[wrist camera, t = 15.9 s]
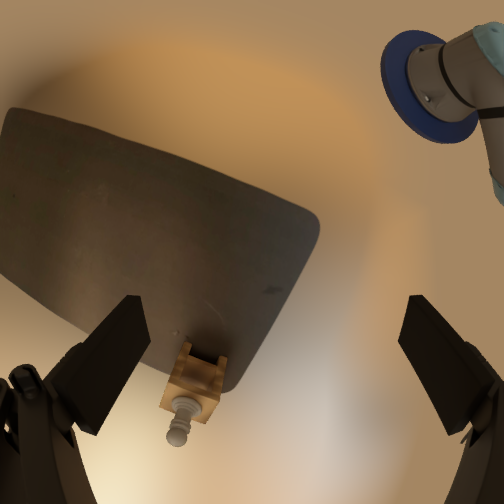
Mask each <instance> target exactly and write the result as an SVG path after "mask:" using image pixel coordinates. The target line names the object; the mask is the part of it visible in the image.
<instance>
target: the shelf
mask: <svg viewBox="0 0 504 504" xmlns="http://www.w3.org/2000/svg"><path fill="white" fill-rule="evenodd" d="M191 347H192V344H191V343H188V342H186V341H185V342H184V344H183V346H182V349H181V351H180V354H179V356H178V358H177V361H176V363H175V366H174V368H173V371H172V373H171V375H170V378H169V380H168V383H167V386H166V389H165V391H164V394H163V397H162V400H161V402H160V405H159V407H160V408H163V409H165V410H167V411H170V412H173V413H175V414H176V412H175V411H174V410H173V408H172V401H173V399H175V398H176V397H189V398H192V399H194V400H195V401H197V402H198V403H199V404H200V405H201V408H202V412H201V414H200V415H199V416H197V417H192V418H191V420H194V421H197V422H200V423H203V424H206V422H207V421H208V419H209V417H210V416H211V414H212V413H213V411H214V409H215V408H216V406H217V405H218V403H219V401H220V395H221V390H222V384H223V379H224V374H225V368H226V363H227V358H226V357H224V356H221V355H220V356H219V358H218V360H217V362H216V364H215V365H213V364H211V363H208V362H205V361H203V360H200V359H198V358H195V357H193V356H190V355H188V354H189V352H190V349H191Z"/></svg>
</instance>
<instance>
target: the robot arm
mask: <svg viewBox="0 0 504 504" xmlns="http://www.w3.org/2000/svg"><path fill="white" fill-rule="evenodd" d="M405 76H406V80H407V84H408V86H409V89H410V91H411V93H412V95H413V97H414V98H415V100H416V101H417V103H418V104H419V105H420V107H421V108H422V109H423V110H424V111H425V112H426V113H427V114H429V115H430V116H431V117H433V118H435V119H436V120H438V121H441V122H445V123H453V122H459V121H462V120H463V119H465V118H466V117H467V116H468V115H470V114H471V113H472V112H473V111H475V110H477V113H478V116H479V120H480V124H481V128H482V132H483V136H484V140H485V145H486V149H487V154H488V160H489V165H490V169H489V172H490V175H491V177H492V182H493V187H494V193H495V196H496V197H497V199H498V200H499V202H500V203H501V204H502V205H503V206H504V24H502V23H499V22H489V23H487V24H484V25H478V26H475V27H474V28H473V29H471V30H470V31H468V32H466V33H464V34H462V35H460V36H458V37H457V38H454V39H453V40H451V41H449V42H447V43H445V44H427V45H421V46H419V47H417V48H416V49H414V50H413V51H411V52H410V54H409V55H408V57H407V59H406V62H405ZM150 342H151V340H150V336H149V332H148V328H147V324H146V320H145V315H144V311H143V306H142V302H141V297H140V296H134V295H127V296H126V297H125V298H124V299H123V300H122V301H121V302H120V303H119V304H118V305H117V306H116V307H115V308H114V309H113V310H112V312H111V313H110V314H109V315H108V316H107V317H106V318H105V319H104V320H103V321H102V322H101V323H100V324H99V326H98V327H97V328H96V329H95V330H94V331H93V332H92V333H91V334H90V335H89V337H88V338H87V339H86V340H85V341H84V342H83V343H81V342H80V343H78V344H77V345H75V346H73V347H72V348H71V349H70V350H69V351H68V352H67V353H66V354H65V357H63V358H62V359H61V360H60V362H58V363H57V364H56V366H55V367H54V368H53V369H52V370H51V371H50V372H49V374H48V375H47V376H46V377H45V378H44V379H43V381H42V379H41V378H40V376H39V374H38V372H37V371H36V368H35V367H34V366H33V365H30V364H22V365H20V366H17V367H16V368H14V369H13V370H12V371H11V373H10V374H9V377H8V379H9V380H10V382H11V384H12V386H13V387H14V389H12V388H10V386H9V385H8V383H7V381H6V380H4V379H3V378H0V504H97V502H96V499H95V497H94V494H93V492H92V489H91V486H90V484H89V481H88V478H87V475H86V472H85V469H84V465H83V462H82V459H81V455H80V452H79V448H78V444H77V440H76V436H75V432H74V430H73V428H72V425H73V424H74V422H76V424H77V425H78V427H79V428H80V430H81V431H84V432H86V433H89V434H92V435H94V436H97V434H98V432H99V430H100V428H101V426H102V425H103V423H104V421H105V419H106V417H107V416H108V414H109V412H110V410H111V408H112V407H113V405H114V403H115V401H116V399H117V398H118V396H119V394H120V393H121V391H122V389H123V387H124V386H125V384H126V382H127V381H128V379H129V377H130V375H131V374H132V372H133V370H134V369H135V367H136V365H137V364H138V362H139V360H140V359H141V357H142V355H143V354H144V352H145V350H146V349H147V347H148V345H149V344H150ZM398 342H399V344H400V346H401V348H402V349H403V351H404V353H405V354H406V356H407V358H408V360H409V361H410V363H411V365H412V366H413V368H414V370H415V372H416V374H417V375H418V377H419V379H420V381H421V383H422V385H423V386H424V388H425V390H426V392H427V394H428V396H429V398H430V400H431V402H432V403H433V405H434V407H435V409H436V411H437V413H438V415H439V417H440V419H441V421H442V423H443V426H444V428H445V430H446V432H447V434H448V435H449V436H450V435H453V434H455V433H458V432H460V431H463V429H464V428H465V427H466V425H467V424H468V423H469V421H470V422H471V423H472V425H473V426H472V428H471V429H470V430H469V432H468V433H467V434H466V435H465V437H464V438H463V439H462V441H461V444H462V443H463V442H464V441H465V440H466V439H467V441H466V444H465V448H464V452H463V455H462V458H461V461H460V465H459V467H458V470H457V473H456V476H455V478H454V481H453V484H452V486H451V489H450V491H449V494H448V496H447V498H446V500H445V503H444V504H504V381H503V380H502V379H501V378H500V376H499V375H498V374H497V373H496V371H495V370H494V369H493V368H492V366H491V365H490V364H489V363H488V361H487V362H486V359H485V358H484V357H483V356H482V355H481V353H480V352H479V350H478V349H477V348H476V347H475V346H473V345H472V344H470V343H469V342H467V341H466V342H464V340H463V339H462V338H461V337H460V336H459V335H458V333H457V332H456V331H455V330H454V329H453V328H452V327H451V326H450V324H449V323H448V322H447V321H446V320H445V319H444V318H443V317H442V316H441V314H440V313H439V312H438V311H437V310H436V309H435V308H434V307H433V306H432V305H431V304H430V303H429V302H428V300H427V299H426V298H425V297H424V296H423V295H412V296H409V301H408V305H407V309H406V313H405V317H404V321H403V325H402V328H401V332H400V336H399V339H398ZM5 423H6V424H7V426H8V427H9V431H8V432H6V430H5V429H4V427H5Z"/></svg>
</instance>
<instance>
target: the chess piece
mask: <svg viewBox="0 0 504 504" xmlns="http://www.w3.org/2000/svg"><path fill="white" fill-rule="evenodd" d="M172 408H173V410H174V411H175V412H176V414H175V417H174V419H173V420H172V421H171V424H170V430H169V431H168V432H167V435H166V439H167V441H168V443H170V444H171V445H172V446H175V447H181V446H183V445H184V444H185V443H186V441H187V434H189V432H190V429H191V425H190V421H191V418H192V417H197V416H199V415H200V414H201V412H202V408H201V405H200V404H199V403H198V402H197V401H195V400H194V399H192V398H189V397H176V398H175V399H173V401H172Z"/></svg>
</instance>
